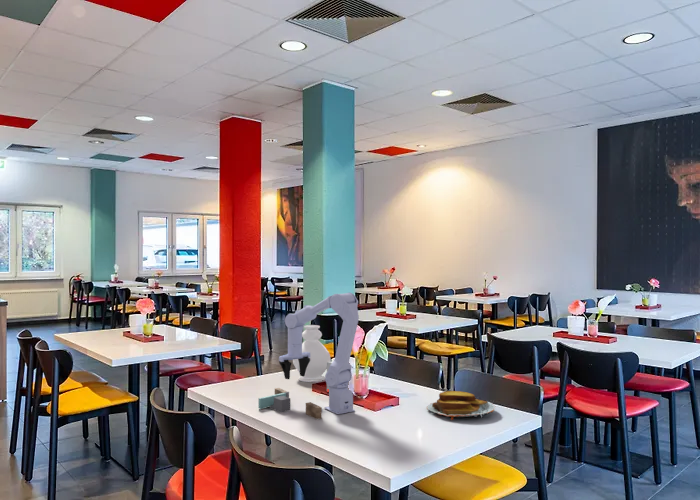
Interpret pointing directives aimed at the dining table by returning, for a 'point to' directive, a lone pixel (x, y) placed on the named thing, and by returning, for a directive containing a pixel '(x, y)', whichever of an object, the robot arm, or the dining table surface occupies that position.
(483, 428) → the dining table surface
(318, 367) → the decorative vase
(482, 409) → the food on plate
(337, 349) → the robot arm
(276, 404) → the door stop
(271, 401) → the door
